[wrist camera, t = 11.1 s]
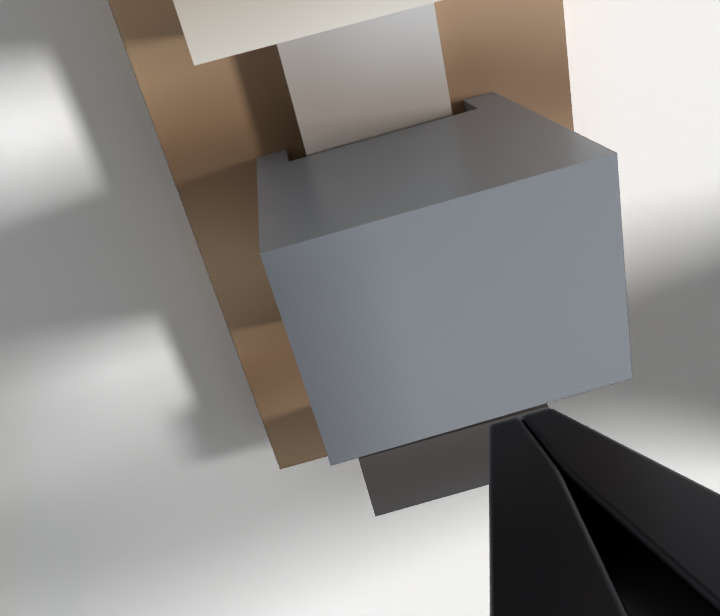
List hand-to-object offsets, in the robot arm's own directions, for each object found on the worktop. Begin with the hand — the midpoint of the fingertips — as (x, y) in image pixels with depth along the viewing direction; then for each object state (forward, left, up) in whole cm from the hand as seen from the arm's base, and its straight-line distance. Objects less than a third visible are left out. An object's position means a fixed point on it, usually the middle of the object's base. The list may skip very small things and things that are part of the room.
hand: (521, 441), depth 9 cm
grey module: (0, 0, -10) cm, 10 cm away
